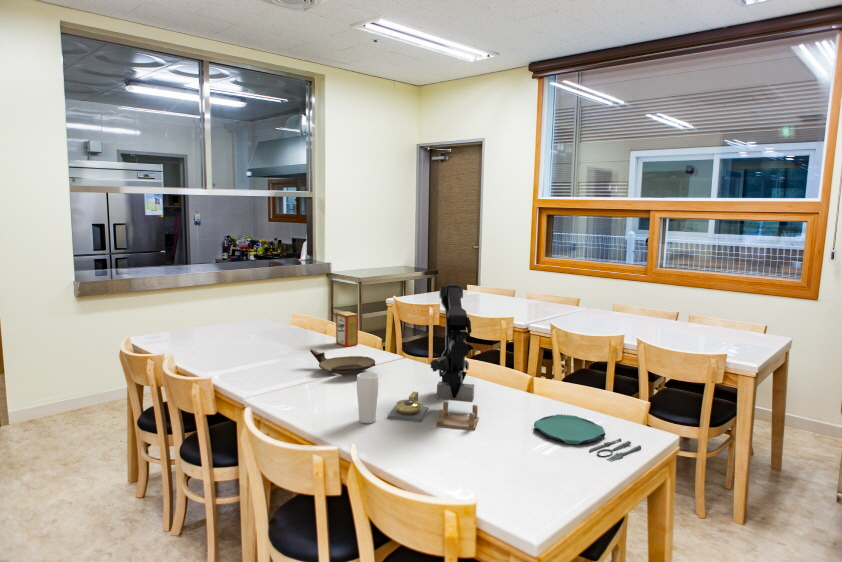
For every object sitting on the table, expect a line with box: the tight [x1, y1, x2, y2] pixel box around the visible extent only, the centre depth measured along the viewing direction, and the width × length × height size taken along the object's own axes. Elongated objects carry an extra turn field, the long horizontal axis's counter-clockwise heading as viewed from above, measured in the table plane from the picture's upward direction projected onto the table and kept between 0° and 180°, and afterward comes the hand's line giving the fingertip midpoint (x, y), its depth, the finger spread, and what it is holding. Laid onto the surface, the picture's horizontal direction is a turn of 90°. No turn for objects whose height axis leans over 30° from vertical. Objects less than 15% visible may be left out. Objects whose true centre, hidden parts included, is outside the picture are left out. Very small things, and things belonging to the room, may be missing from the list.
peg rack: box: [436, 401, 480, 431], centre depth 176 cm, size 9×12×5 cm
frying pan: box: [309, 348, 377, 376], centre depth 229 cm, size 22×30×8 cm
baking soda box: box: [335, 310, 359, 348], centre depth 273 cm, size 10×6×16 cm
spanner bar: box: [436, 380, 475, 403], centre depth 187 cm, size 12×4×5 cm, turn 77°
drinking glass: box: [356, 371, 379, 425], centre depth 175 cm, size 7×7×15 cm
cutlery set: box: [533, 413, 642, 462], centre depth 166 cm, size 20×30×2 cm, turn 35°
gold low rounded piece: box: [396, 391, 422, 415], centre depth 185 cm, size 14×8×3 cm, turn 167°
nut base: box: [387, 404, 430, 423], centre depth 183 cm, size 11×11×1 cm
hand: (455, 395), depth 187 cm, fingers closed on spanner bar, 4 cm apart
